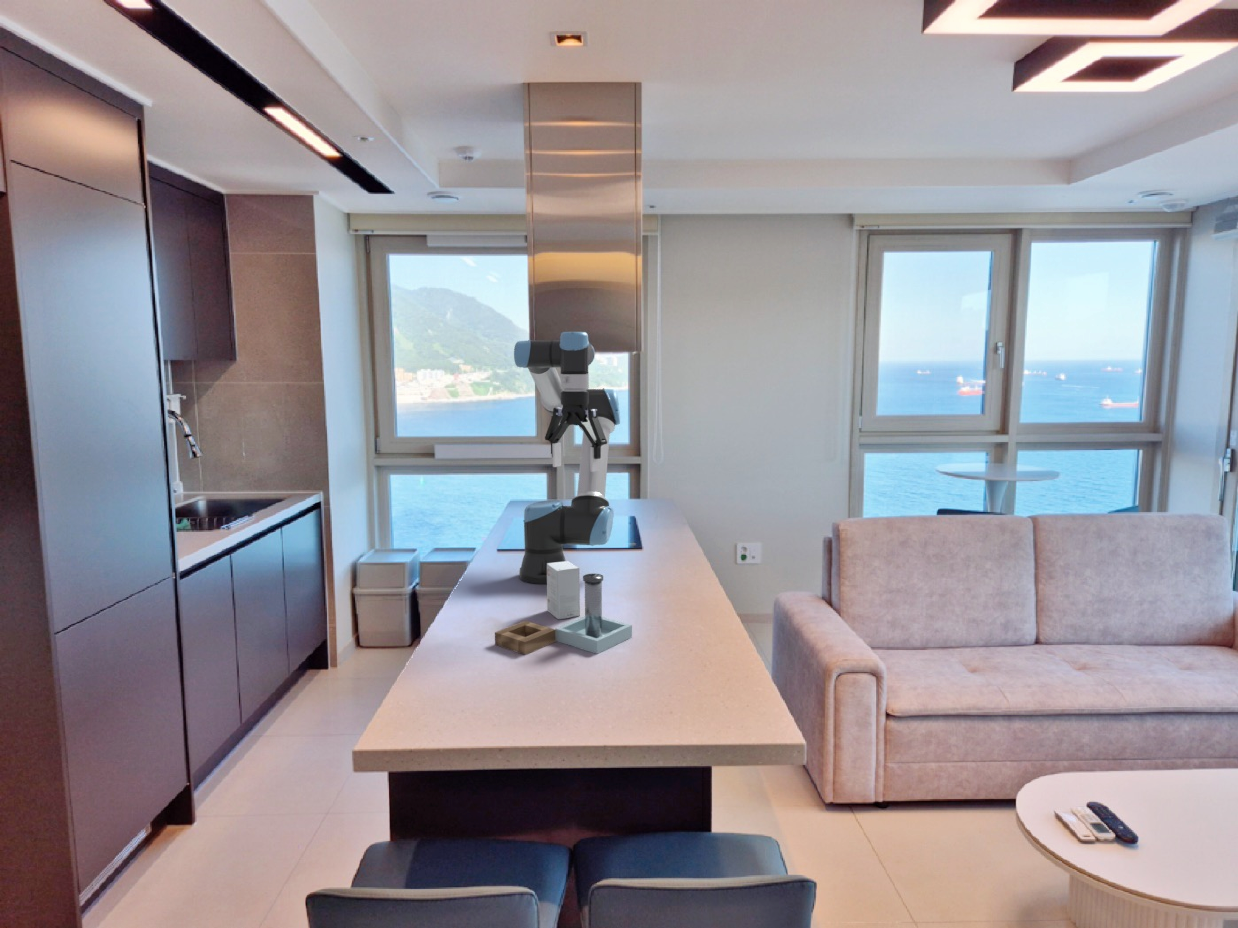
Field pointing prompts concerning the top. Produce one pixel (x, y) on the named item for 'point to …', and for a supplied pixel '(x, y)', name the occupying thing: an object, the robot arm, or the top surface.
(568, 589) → the small box
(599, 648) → the tray
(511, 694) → the top surface
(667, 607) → the top surface
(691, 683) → the top surface
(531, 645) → the socket block
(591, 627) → the pin
